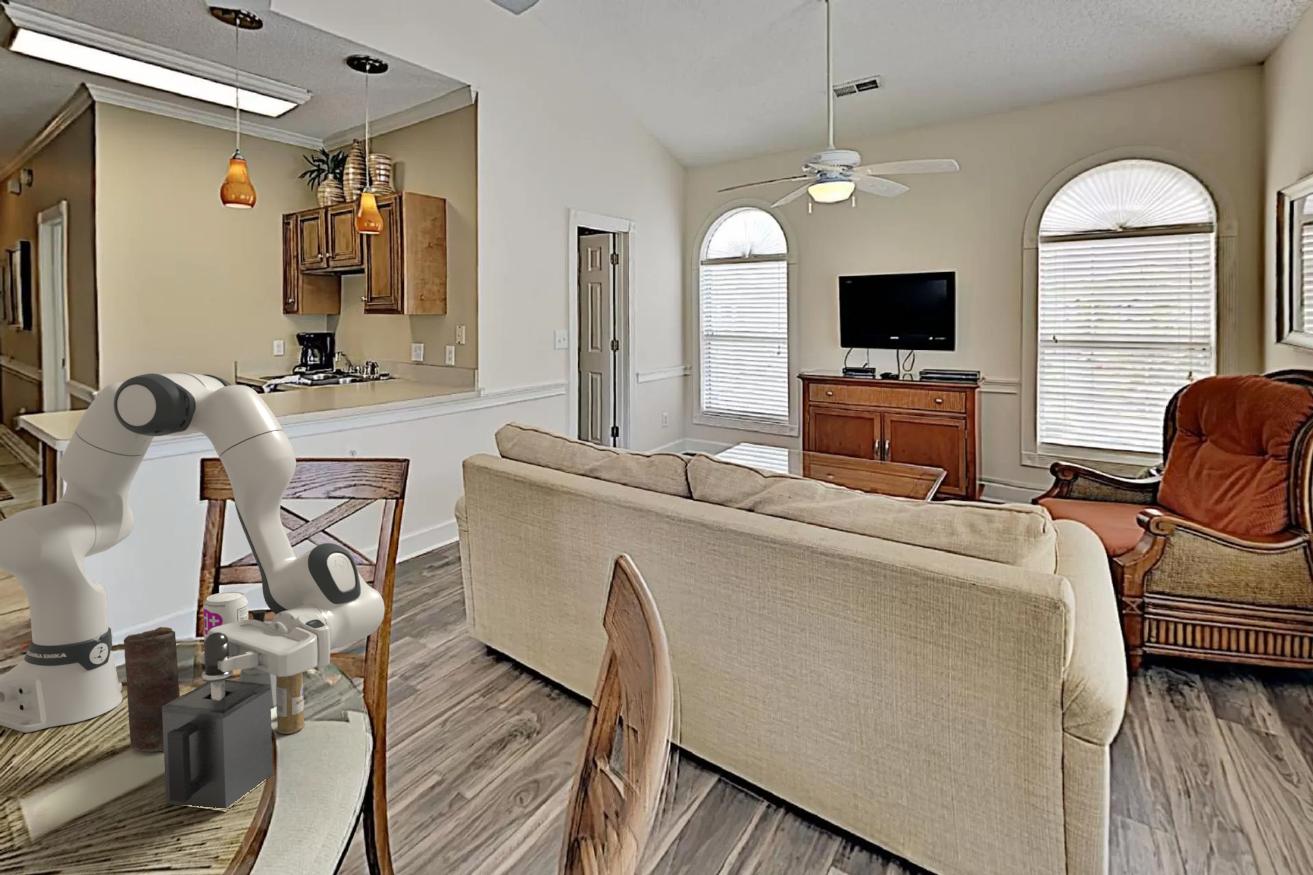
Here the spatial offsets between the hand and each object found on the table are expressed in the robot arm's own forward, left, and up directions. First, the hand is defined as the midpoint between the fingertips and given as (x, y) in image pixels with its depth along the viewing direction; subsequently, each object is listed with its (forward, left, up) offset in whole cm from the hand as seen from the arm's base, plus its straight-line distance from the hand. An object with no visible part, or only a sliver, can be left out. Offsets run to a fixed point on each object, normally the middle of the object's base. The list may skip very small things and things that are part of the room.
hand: (211, 663), depth 111 cm
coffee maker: (-15, +29, -21) cm, 38 cm away
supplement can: (-33, +42, -21) cm, 57 cm away
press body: (0, -1, -20) cm, 20 cm away
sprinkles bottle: (-2, +20, -21) cm, 29 cm away
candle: (-20, +10, -21) cm, 30 cm away
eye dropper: (0, +1, -18) cm, 18 cm away
